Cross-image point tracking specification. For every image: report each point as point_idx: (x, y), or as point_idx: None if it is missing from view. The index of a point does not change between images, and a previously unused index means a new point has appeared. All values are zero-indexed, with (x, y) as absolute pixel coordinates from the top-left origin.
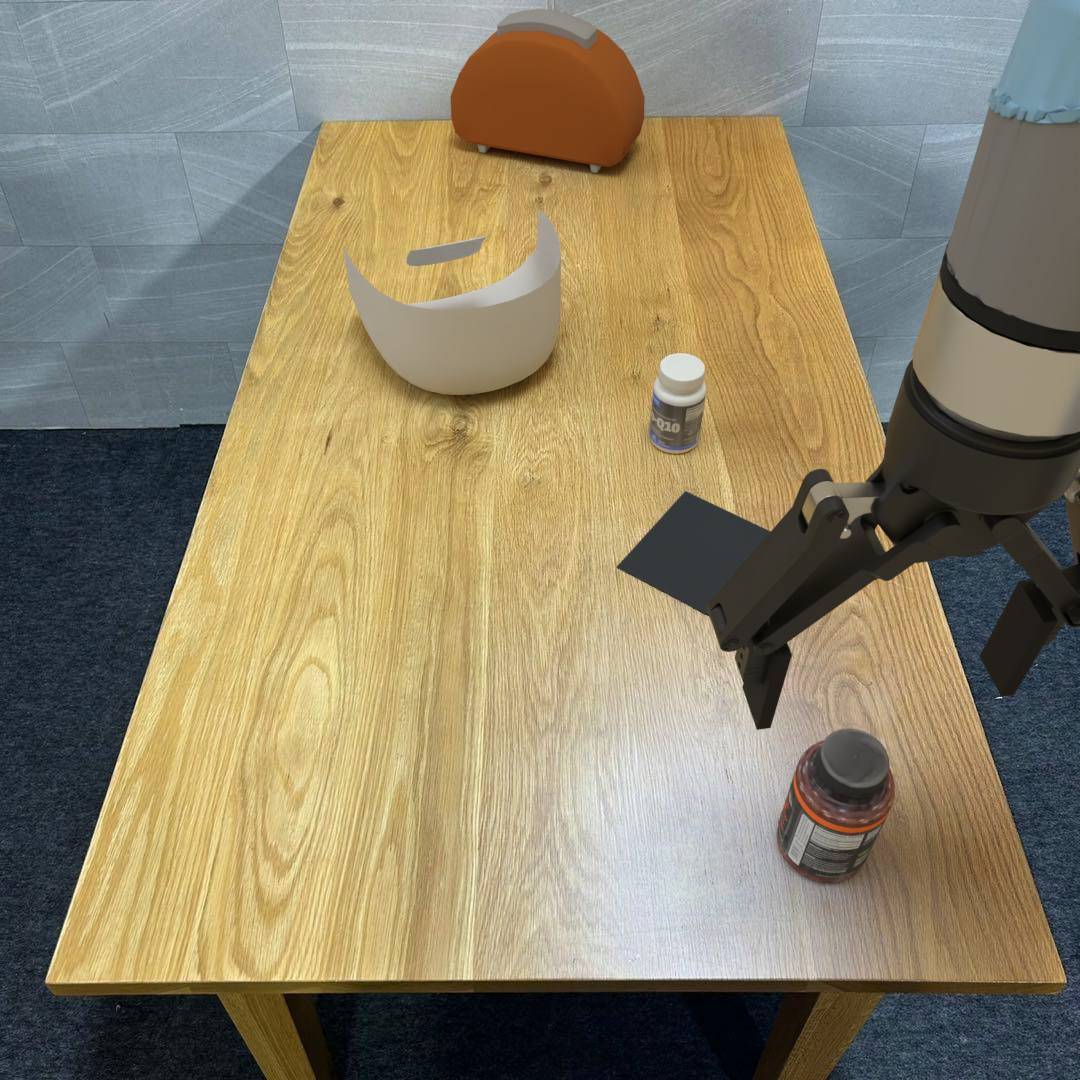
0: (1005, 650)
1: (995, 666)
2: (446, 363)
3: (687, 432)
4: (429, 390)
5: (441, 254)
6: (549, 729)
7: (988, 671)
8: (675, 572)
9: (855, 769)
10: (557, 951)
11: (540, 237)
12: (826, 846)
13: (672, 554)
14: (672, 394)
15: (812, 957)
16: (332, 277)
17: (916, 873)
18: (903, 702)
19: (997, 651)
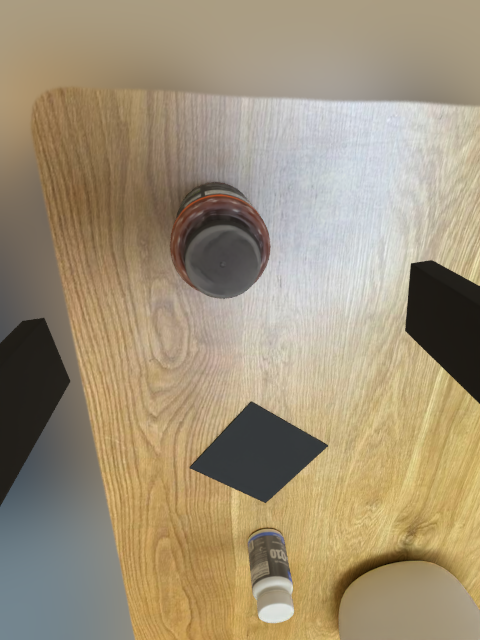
0: (27, 391)
1: (48, 364)
2: (438, 593)
3: (263, 549)
4: (431, 563)
5: None
6: None
7: (59, 358)
8: (286, 443)
9: (227, 247)
10: (451, 126)
11: None
12: (235, 193)
13: (285, 456)
14: (282, 586)
15: (241, 112)
16: None
17: (137, 191)
18: (125, 345)
19: (41, 389)
